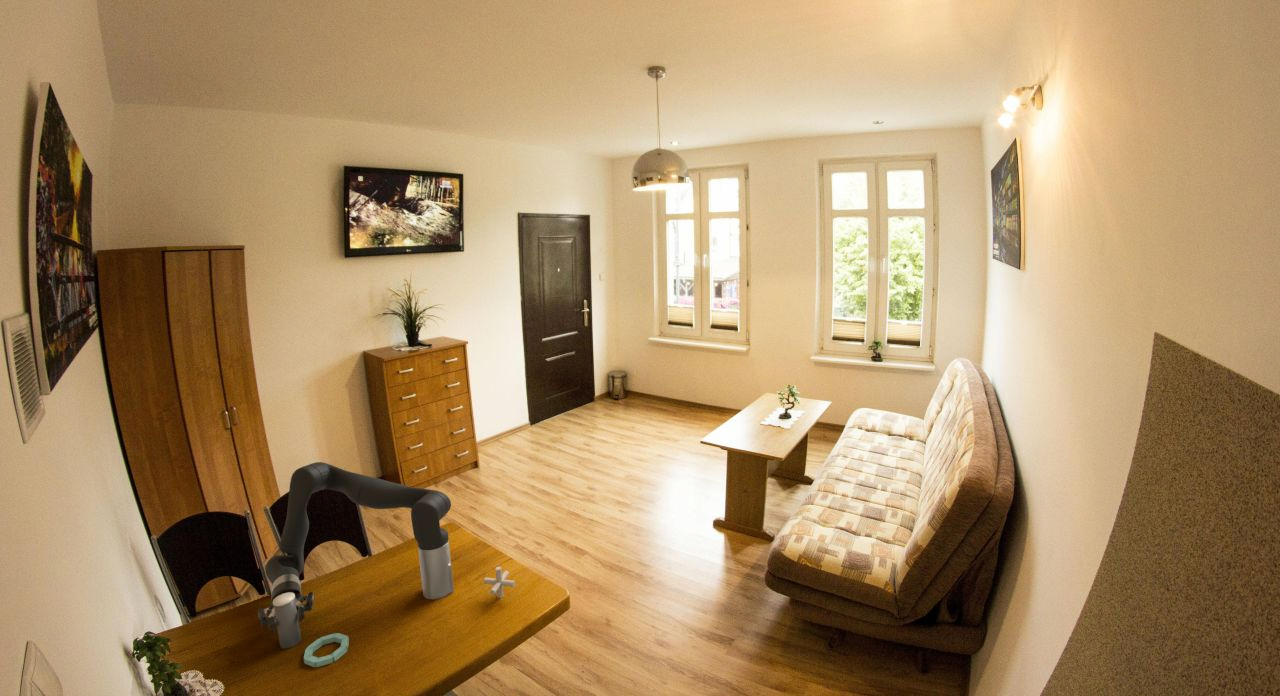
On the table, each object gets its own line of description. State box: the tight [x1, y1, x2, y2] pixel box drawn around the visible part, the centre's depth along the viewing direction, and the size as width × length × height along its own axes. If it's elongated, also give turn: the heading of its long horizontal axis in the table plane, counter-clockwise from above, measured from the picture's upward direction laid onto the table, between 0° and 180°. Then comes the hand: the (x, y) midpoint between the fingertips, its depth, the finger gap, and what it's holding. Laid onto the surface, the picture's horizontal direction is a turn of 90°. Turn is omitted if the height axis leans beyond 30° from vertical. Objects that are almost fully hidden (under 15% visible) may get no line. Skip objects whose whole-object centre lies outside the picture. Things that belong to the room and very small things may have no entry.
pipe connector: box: [483, 566, 516, 599], centre depth 167 cm, size 10×10×10 cm
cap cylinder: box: [273, 592, 302, 650], centre depth 148 cm, size 5×5×14 cm
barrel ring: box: [303, 632, 350, 668], centre depth 145 cm, size 10×10×2 cm
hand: (287, 623), depth 146 cm, fingers open, 5 cm apart
